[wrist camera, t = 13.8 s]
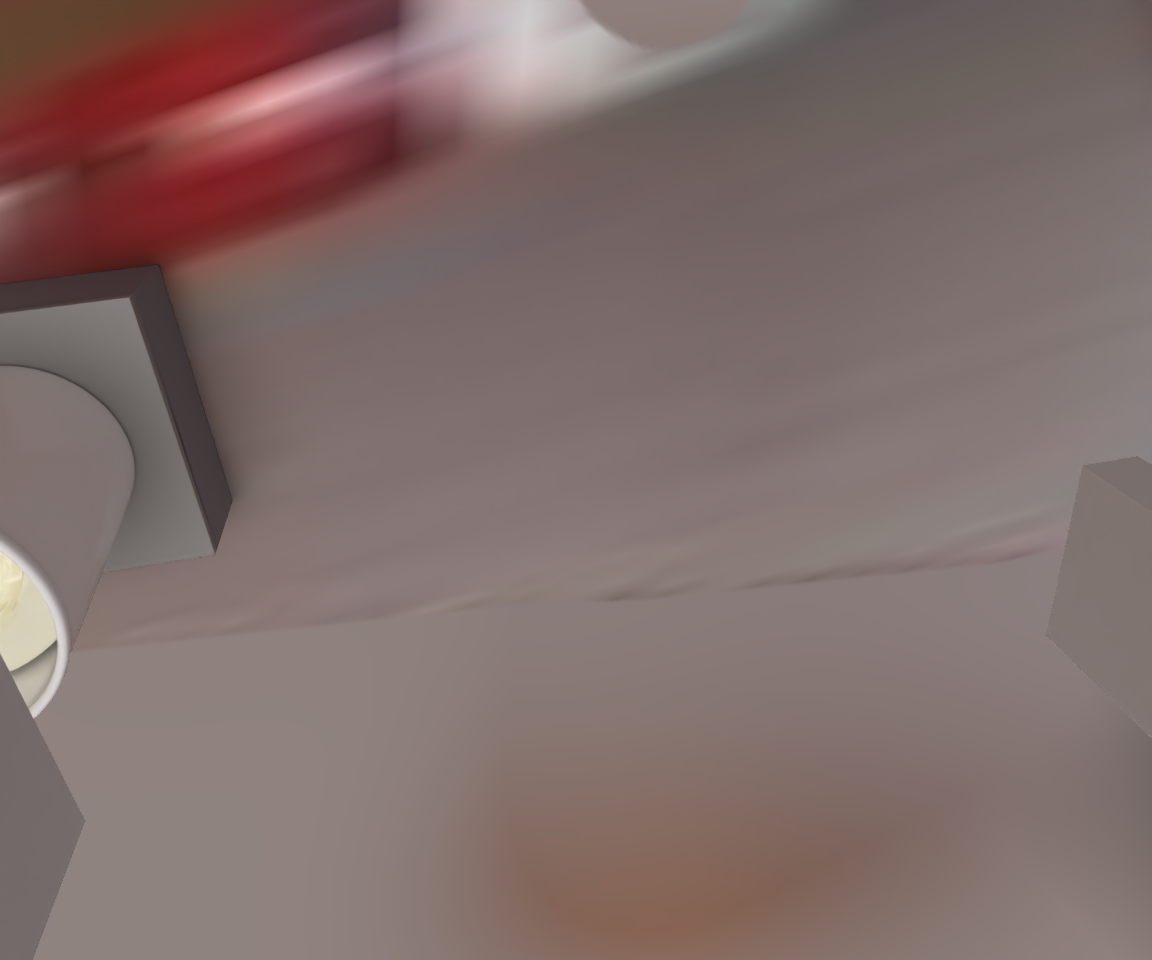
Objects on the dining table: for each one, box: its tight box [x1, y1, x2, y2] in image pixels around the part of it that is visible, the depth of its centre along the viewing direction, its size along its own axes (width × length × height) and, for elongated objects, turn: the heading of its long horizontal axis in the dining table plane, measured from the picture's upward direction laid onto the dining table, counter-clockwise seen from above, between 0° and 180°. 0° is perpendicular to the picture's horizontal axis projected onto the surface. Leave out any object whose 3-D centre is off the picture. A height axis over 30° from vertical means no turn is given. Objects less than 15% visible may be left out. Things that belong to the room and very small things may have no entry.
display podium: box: [0, 265, 232, 573], centre depth 39 cm, size 12×12×5 cm
